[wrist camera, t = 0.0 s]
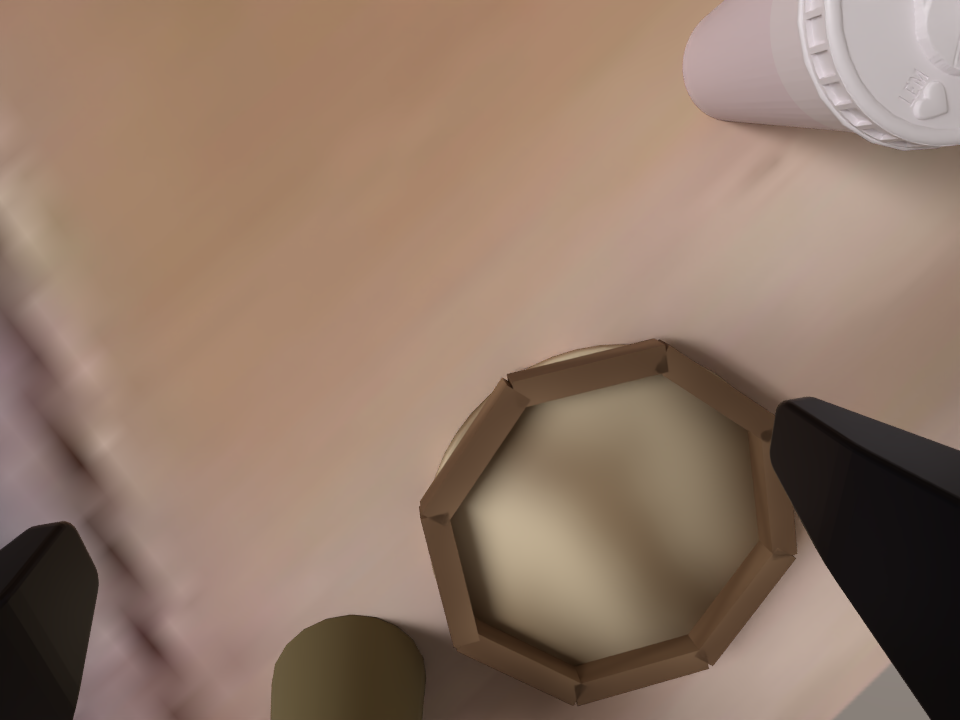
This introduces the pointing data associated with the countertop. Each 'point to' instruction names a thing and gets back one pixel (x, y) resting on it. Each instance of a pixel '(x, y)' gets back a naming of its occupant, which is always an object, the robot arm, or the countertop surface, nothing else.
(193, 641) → the countertop surface
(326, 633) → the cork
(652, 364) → the tray
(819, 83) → the smoothie
